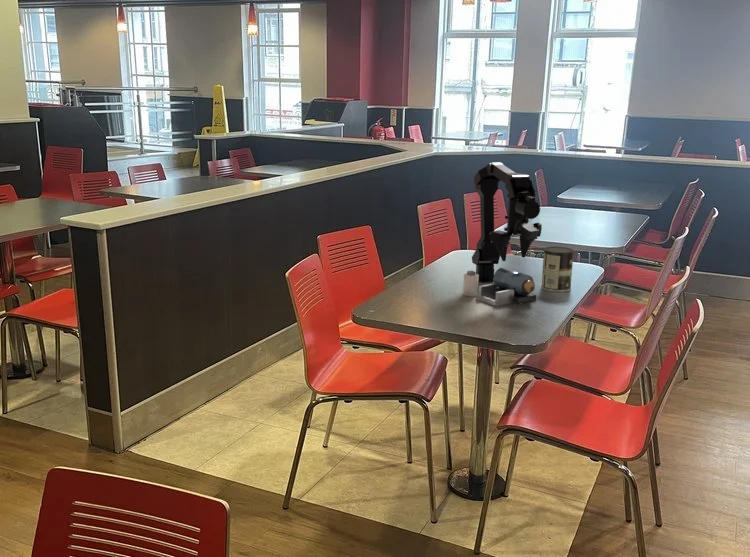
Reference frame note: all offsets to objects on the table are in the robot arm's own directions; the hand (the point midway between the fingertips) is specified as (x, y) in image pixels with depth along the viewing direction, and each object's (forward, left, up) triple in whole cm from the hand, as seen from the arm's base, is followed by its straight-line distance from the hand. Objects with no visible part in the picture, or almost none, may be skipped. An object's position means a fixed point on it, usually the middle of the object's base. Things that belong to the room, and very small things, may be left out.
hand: (513, 259), depth 233 cm
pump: (-9, -10, -13) cm, 19 cm away
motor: (+1, -4, -13) cm, 14 cm away
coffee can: (+1, +21, -13) cm, 25 cm away
